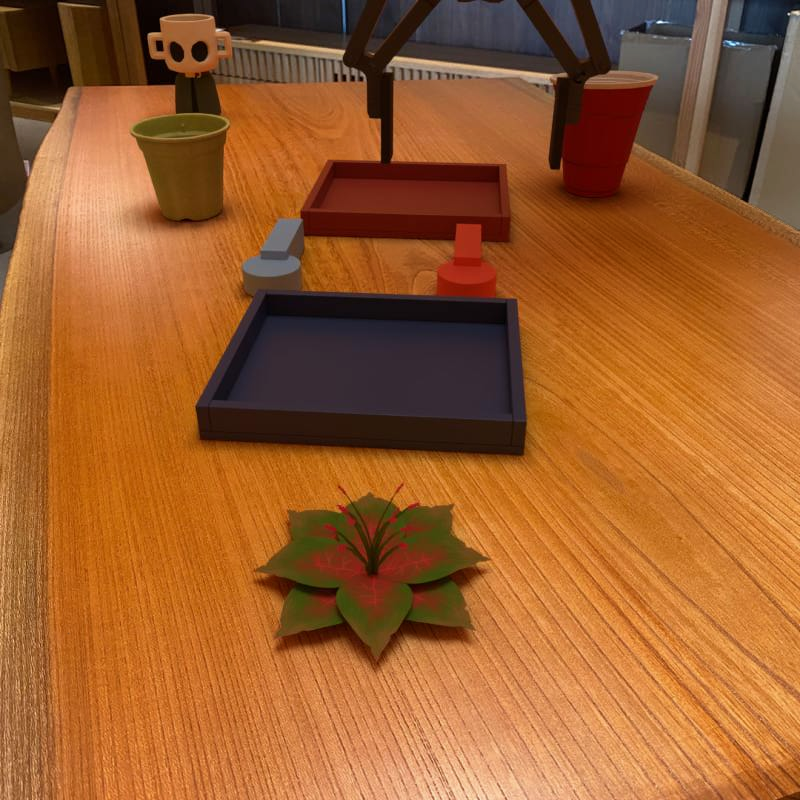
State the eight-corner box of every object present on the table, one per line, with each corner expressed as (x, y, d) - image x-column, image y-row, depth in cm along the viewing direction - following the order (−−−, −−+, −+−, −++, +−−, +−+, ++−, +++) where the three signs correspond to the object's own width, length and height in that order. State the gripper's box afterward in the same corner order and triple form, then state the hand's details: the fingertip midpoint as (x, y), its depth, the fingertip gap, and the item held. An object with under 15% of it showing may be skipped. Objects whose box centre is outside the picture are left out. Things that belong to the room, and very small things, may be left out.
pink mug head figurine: (155, 126, 113) (140, 22, 107) (163, 113, 119) (148, 14, 113) (237, 124, 114) (226, 21, 107) (240, 112, 120) (230, 13, 113)
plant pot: (180, 236, 79) (167, 143, 75) (126, 213, 85) (110, 125, 80) (258, 211, 85) (249, 124, 81) (202, 190, 91) (191, 108, 86)
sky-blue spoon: (318, 248, 77) (317, 219, 75) (296, 300, 68) (294, 267, 66) (267, 246, 77) (264, 217, 76) (237, 298, 68) (234, 265, 66)
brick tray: (504, 185, 92) (506, 163, 91) (508, 241, 78) (510, 216, 77) (328, 180, 94) (327, 159, 92) (301, 235, 80) (299, 210, 78)
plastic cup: (608, 169, 97) (622, 59, 91) (660, 198, 89) (681, 79, 82) (523, 178, 94) (531, 66, 88) (568, 209, 86) (582, 87, 79)
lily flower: (236, 679, 36) (224, 602, 33) (260, 501, 46) (253, 432, 44) (514, 667, 36) (522, 591, 34) (478, 494, 47) (482, 425, 44)
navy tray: (514, 326, 64) (517, 298, 62) (523, 455, 50) (527, 421, 48) (260, 316, 65) (257, 288, 64) (199, 439, 51) (194, 406, 50)
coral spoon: (494, 254, 76) (496, 224, 74) (495, 307, 66) (497, 275, 65) (441, 252, 76) (441, 222, 75) (435, 305, 67) (436, 272, 65)
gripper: (295, -153, 55) (310, 170, 66) (685, -148, 53) (631, 181, 64) (315, -150, 61) (325, 144, 72) (663, -146, 59) (618, 154, 71)
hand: (469, 162), depth 68 cm, fingers open, 13 cm apart
